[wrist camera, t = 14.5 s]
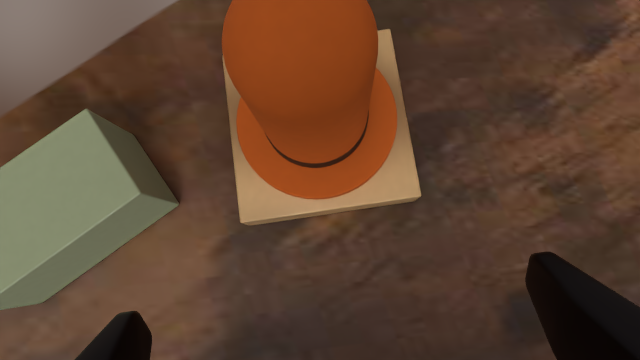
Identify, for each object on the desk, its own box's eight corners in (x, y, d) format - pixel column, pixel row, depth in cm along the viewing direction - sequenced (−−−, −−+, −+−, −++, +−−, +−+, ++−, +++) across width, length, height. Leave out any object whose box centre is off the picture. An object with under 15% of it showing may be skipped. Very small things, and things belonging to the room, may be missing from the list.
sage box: (180, 204, 23) (141, 193, 19) (42, 303, 22) (-32, 316, 18) (133, 134, 24) (85, 107, 19) (-1, 228, 23) (-81, 222, 19)
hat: (409, 186, 20) (472, 121, 10) (248, 210, 21) (155, 170, 11) (381, 36, 22) (413, -150, 12) (230, 61, 22) (135, -101, 12)
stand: (415, 201, 22) (422, 196, 20) (248, 226, 23) (239, 223, 21) (386, 46, 24) (390, 27, 22) (231, 71, 24) (221, 54, 22)
